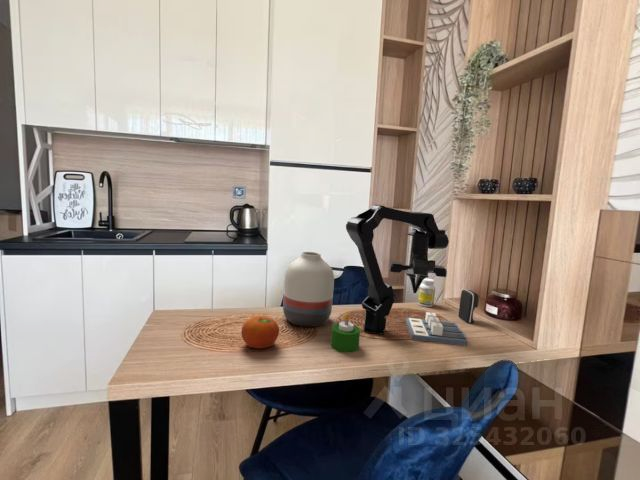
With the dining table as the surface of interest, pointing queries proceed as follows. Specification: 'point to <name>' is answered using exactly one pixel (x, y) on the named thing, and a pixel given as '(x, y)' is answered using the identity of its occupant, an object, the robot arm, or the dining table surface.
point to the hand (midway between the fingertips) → (414, 292)
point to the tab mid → (432, 319)
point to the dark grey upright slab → (468, 305)
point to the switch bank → (422, 332)
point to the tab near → (436, 328)
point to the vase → (308, 290)
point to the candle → (345, 336)
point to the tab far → (429, 314)
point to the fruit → (260, 332)
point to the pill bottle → (427, 293)
